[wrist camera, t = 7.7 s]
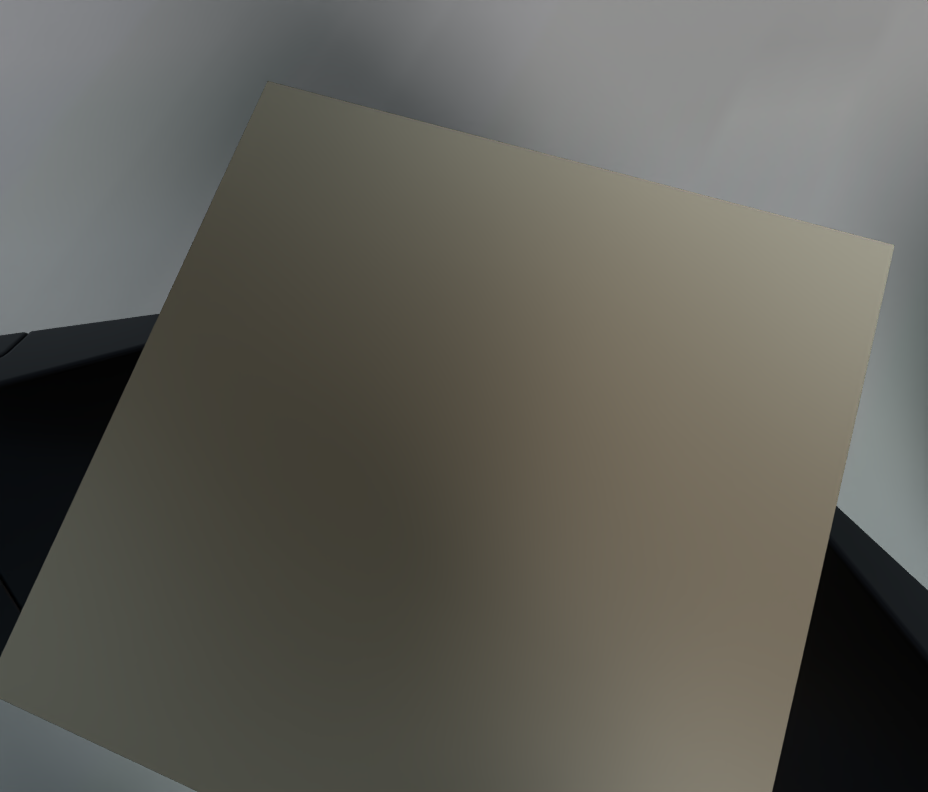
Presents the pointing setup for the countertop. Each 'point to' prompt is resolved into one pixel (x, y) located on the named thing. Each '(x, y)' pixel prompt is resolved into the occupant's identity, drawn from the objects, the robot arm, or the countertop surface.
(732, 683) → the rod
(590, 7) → the countertop surface
